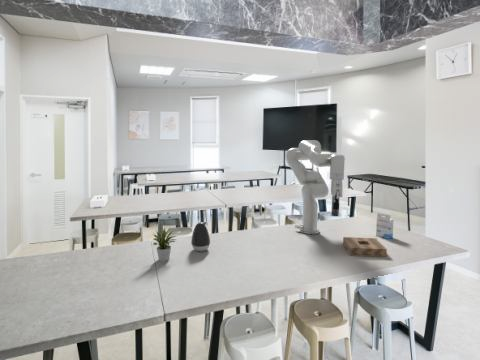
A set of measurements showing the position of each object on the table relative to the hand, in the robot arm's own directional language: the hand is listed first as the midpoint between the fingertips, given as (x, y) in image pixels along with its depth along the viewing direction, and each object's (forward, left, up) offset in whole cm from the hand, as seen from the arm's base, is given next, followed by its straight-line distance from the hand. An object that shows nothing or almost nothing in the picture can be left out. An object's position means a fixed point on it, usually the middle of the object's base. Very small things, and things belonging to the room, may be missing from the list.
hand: (335, 208), depth 178 cm
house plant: (-89, -37, -21) cm, 99 cm away
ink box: (+33, +17, -21) cm, 43 cm away
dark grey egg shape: (-74, -20, -21) cm, 79 cm away
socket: (+14, -9, -21) cm, 27 cm away
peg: (0, 0, -4) cm, 4 cm away
